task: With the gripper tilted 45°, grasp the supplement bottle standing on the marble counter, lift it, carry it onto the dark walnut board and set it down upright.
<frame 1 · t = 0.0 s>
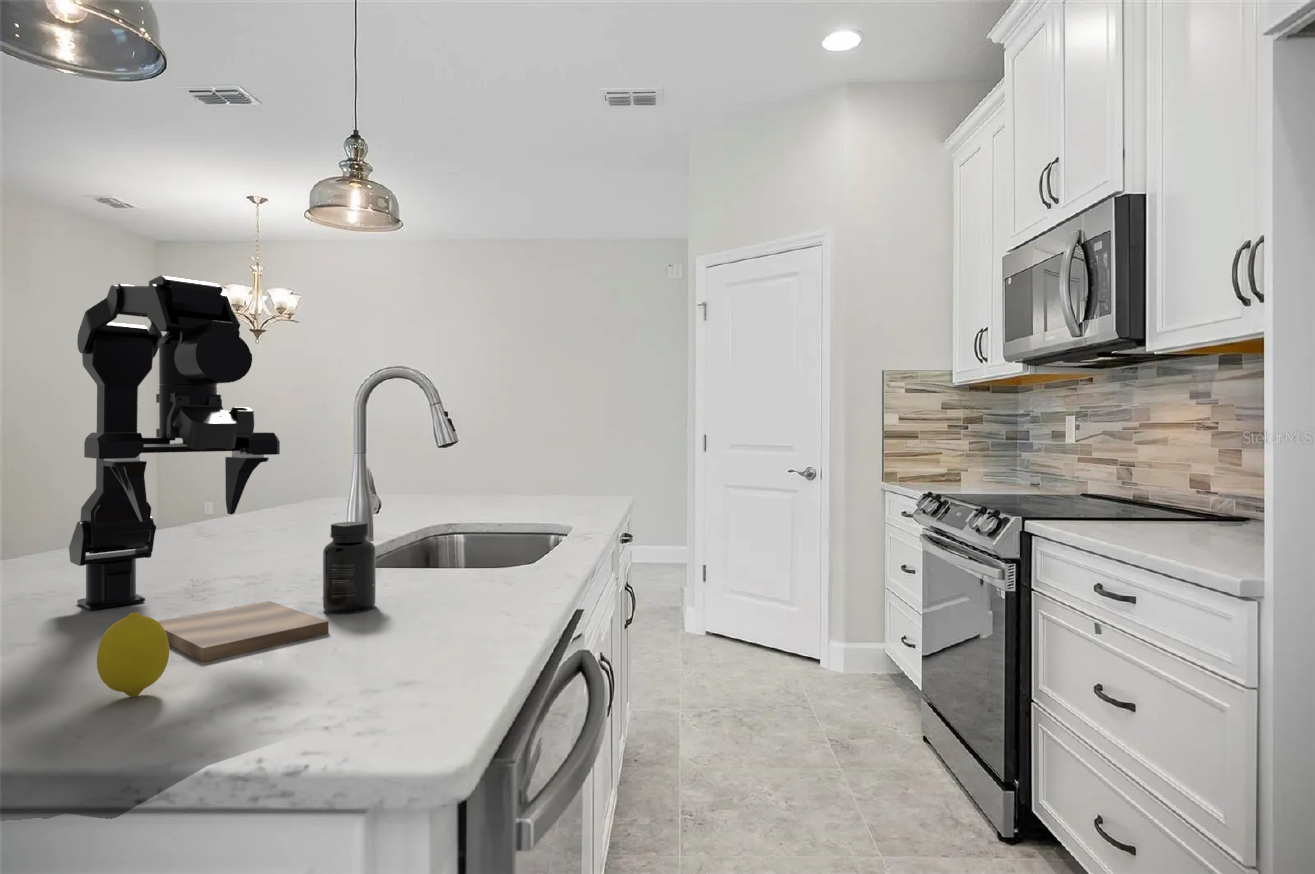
hand: (188, 517, 85), 15 cm above the countertop, tool pointing down, fingers open, 9 cm apart
supplement bottle: (349, 609, 101), on the countertop
lemon: (134, 699, 68), on the countertop
walnut board: (239, 634, 88), on the countertop
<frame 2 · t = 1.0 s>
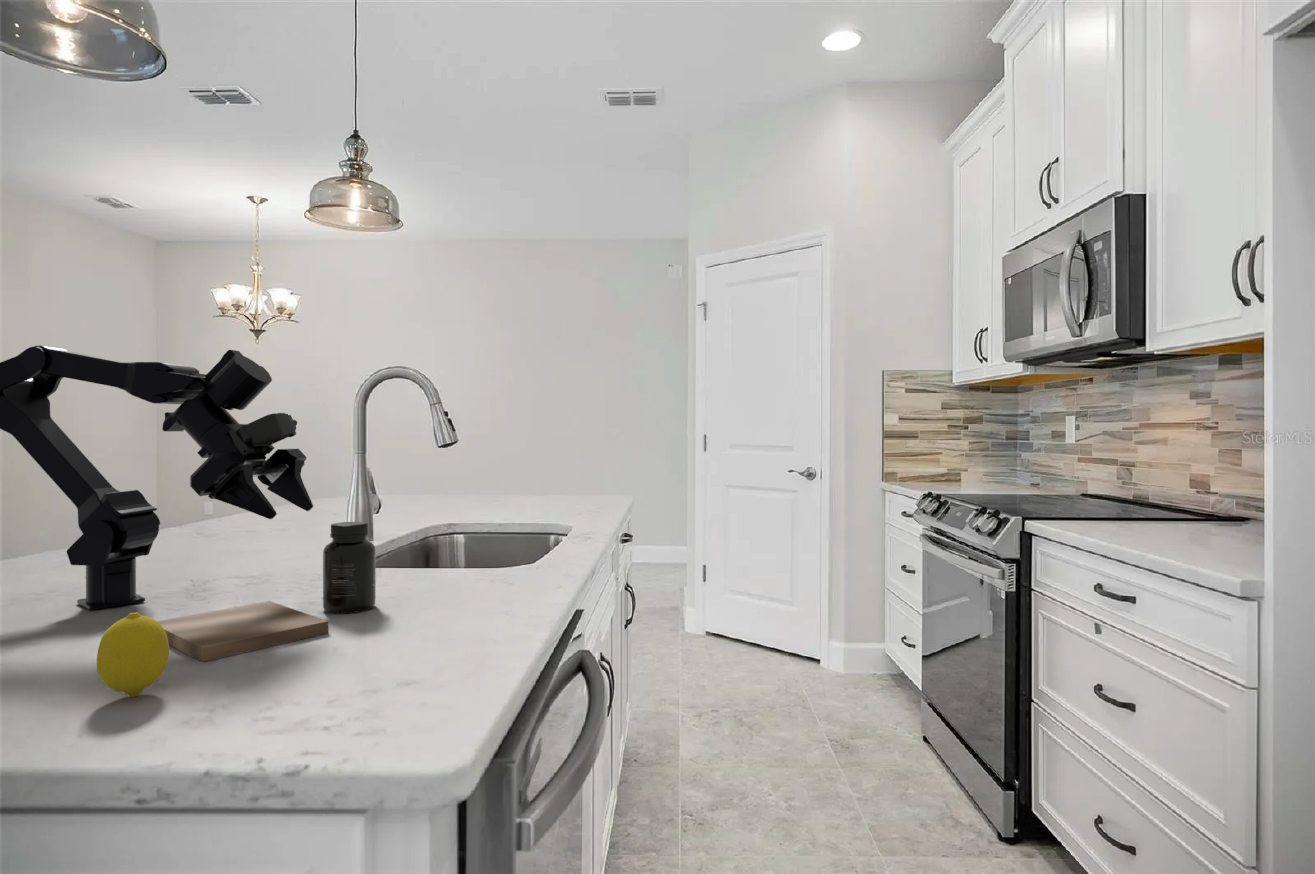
hand: (293, 512, 101), 13 cm above the countertop, tool tilted 45°, fingers open, 9 cm apart
nothing on the countertop moved.
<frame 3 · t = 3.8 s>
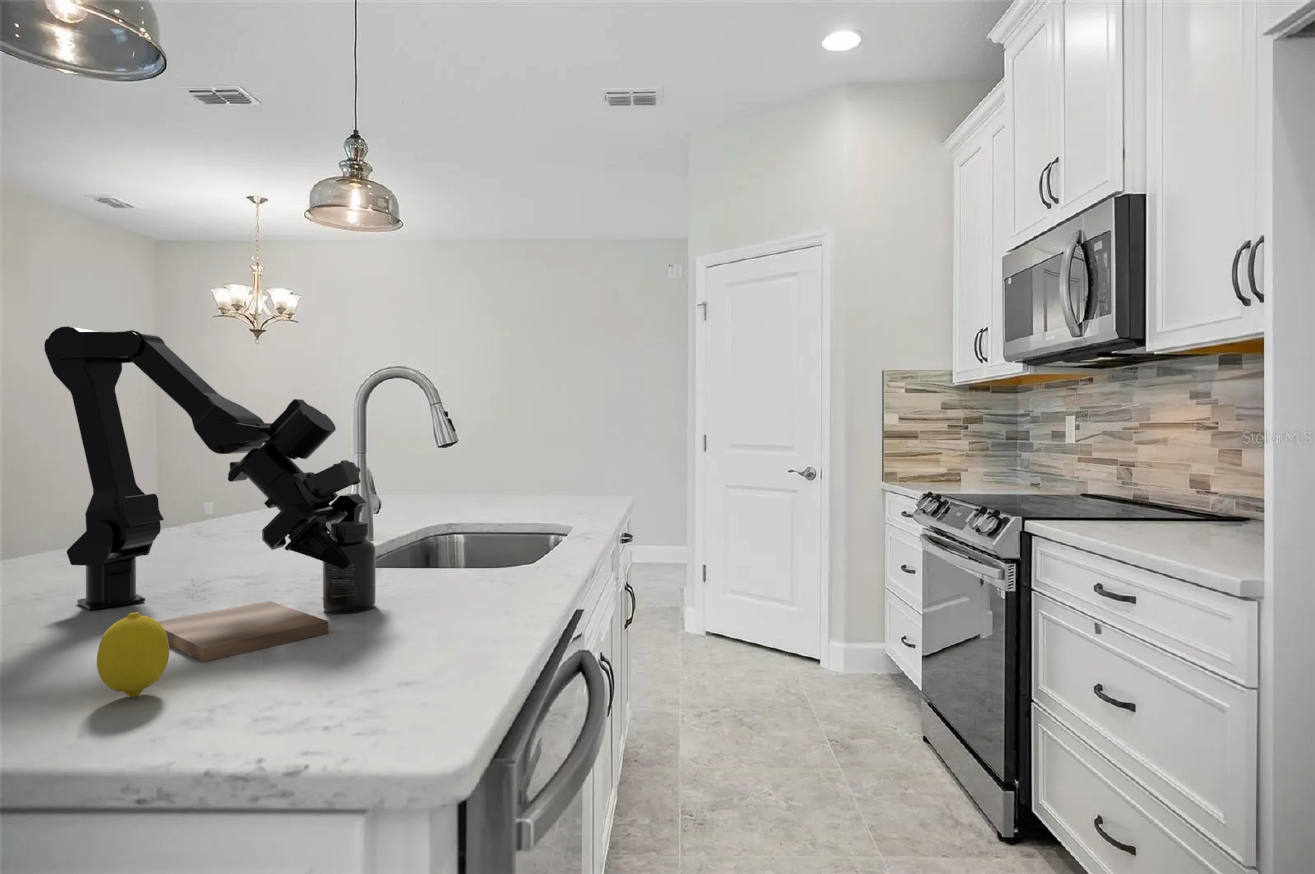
hand: (359, 561, 101), 7 cm above the countertop, tool tilted 45°, fingers closed on supplement bottle, 7 cm apart
supplement bottle: (349, 609, 101), on the countertop, touching gripper
everything else where it was.
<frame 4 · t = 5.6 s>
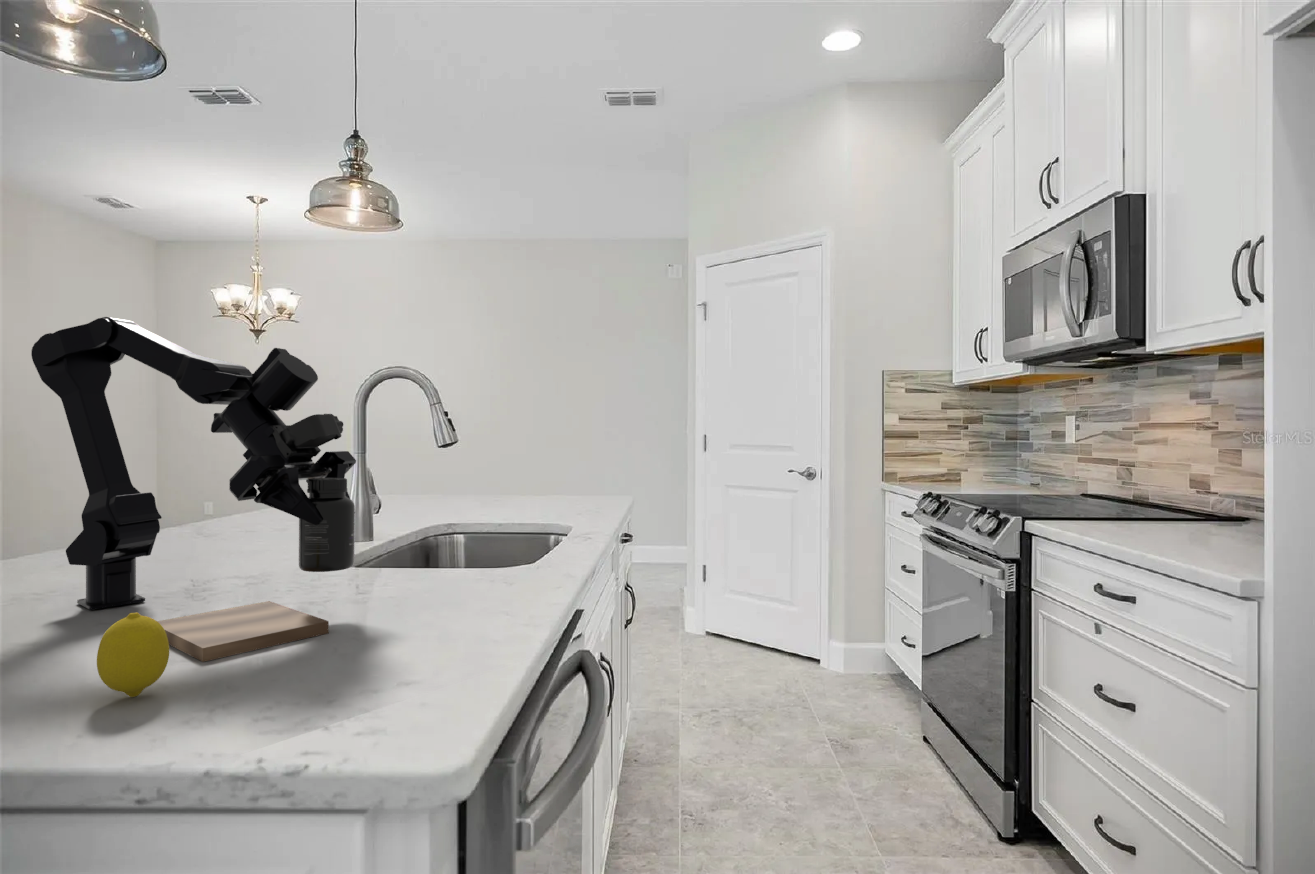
hand: (336, 519, 96), 13 cm above the countertop, tool tilted 45°, fingers closed on supplement bottle, 7 cm apart
supplement bottle: (326, 569, 96), point 6 cm above the countertop, touching gripper
everything else where it was.
when the fingers open (9 cm above the countertop, at t = 7.7 s): supplement bottle drops 1 cm, resting on walnut board.
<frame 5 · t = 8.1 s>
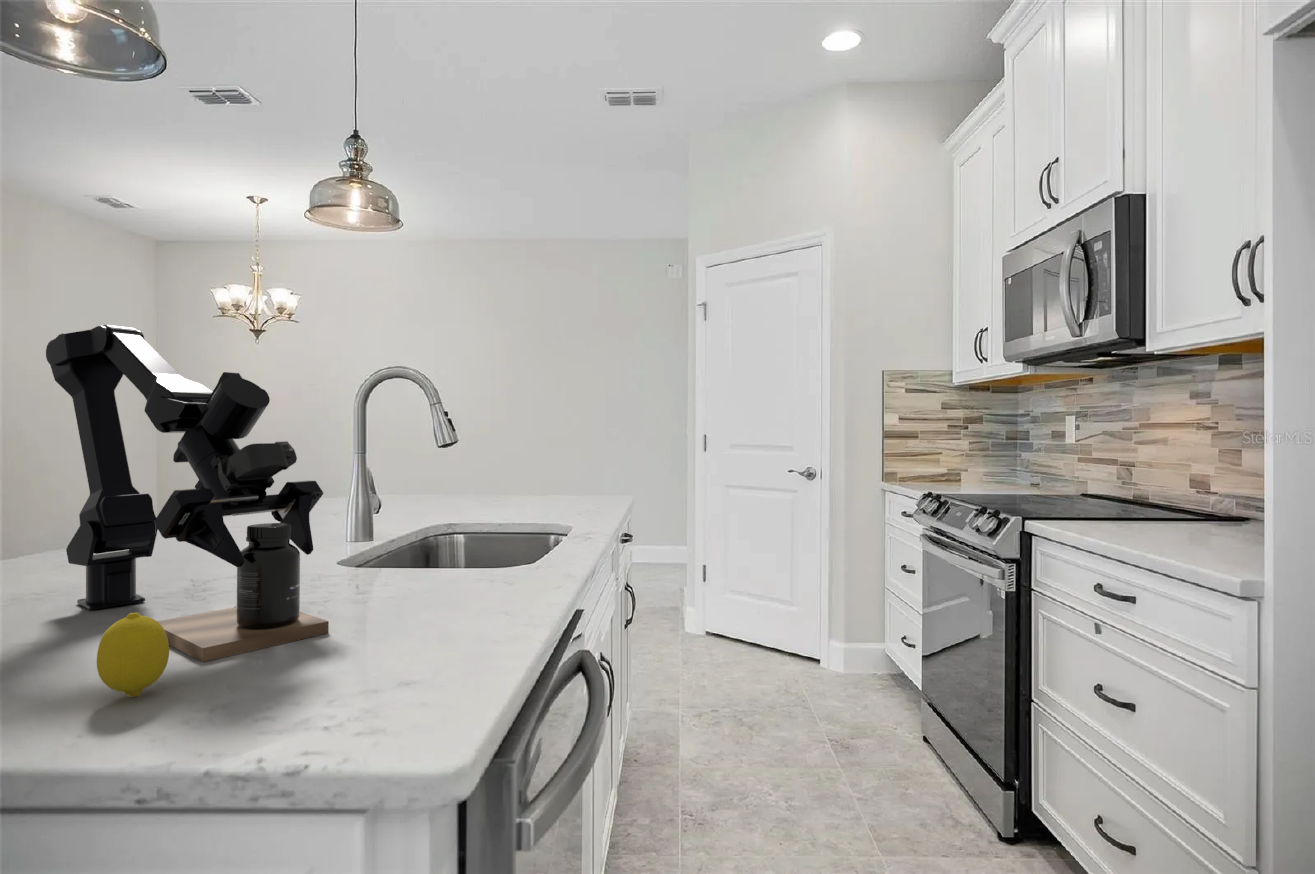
hand: (277, 558, 87), 10 cm above the countertop, tool tilted 45°, fingers open, 9 cm apart
supplement bottle: (268, 624, 88), point 1 cm above the countertop, touching walnut board
everything else where it was.
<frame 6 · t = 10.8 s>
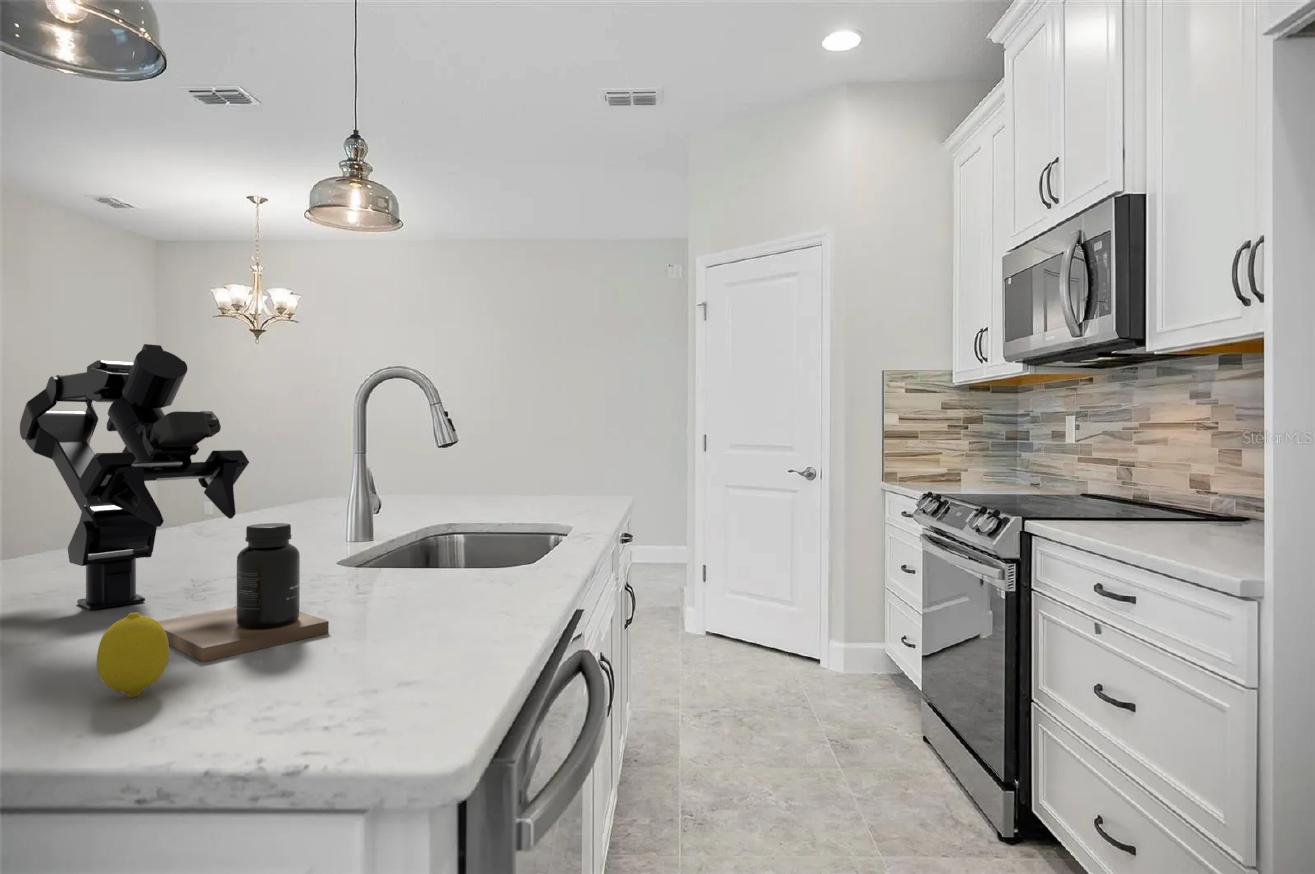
hand: (198, 520, 92), 13 cm above the countertop, tool tilted 45°, fingers open, 9 cm apart
nothing on the countertop moved.
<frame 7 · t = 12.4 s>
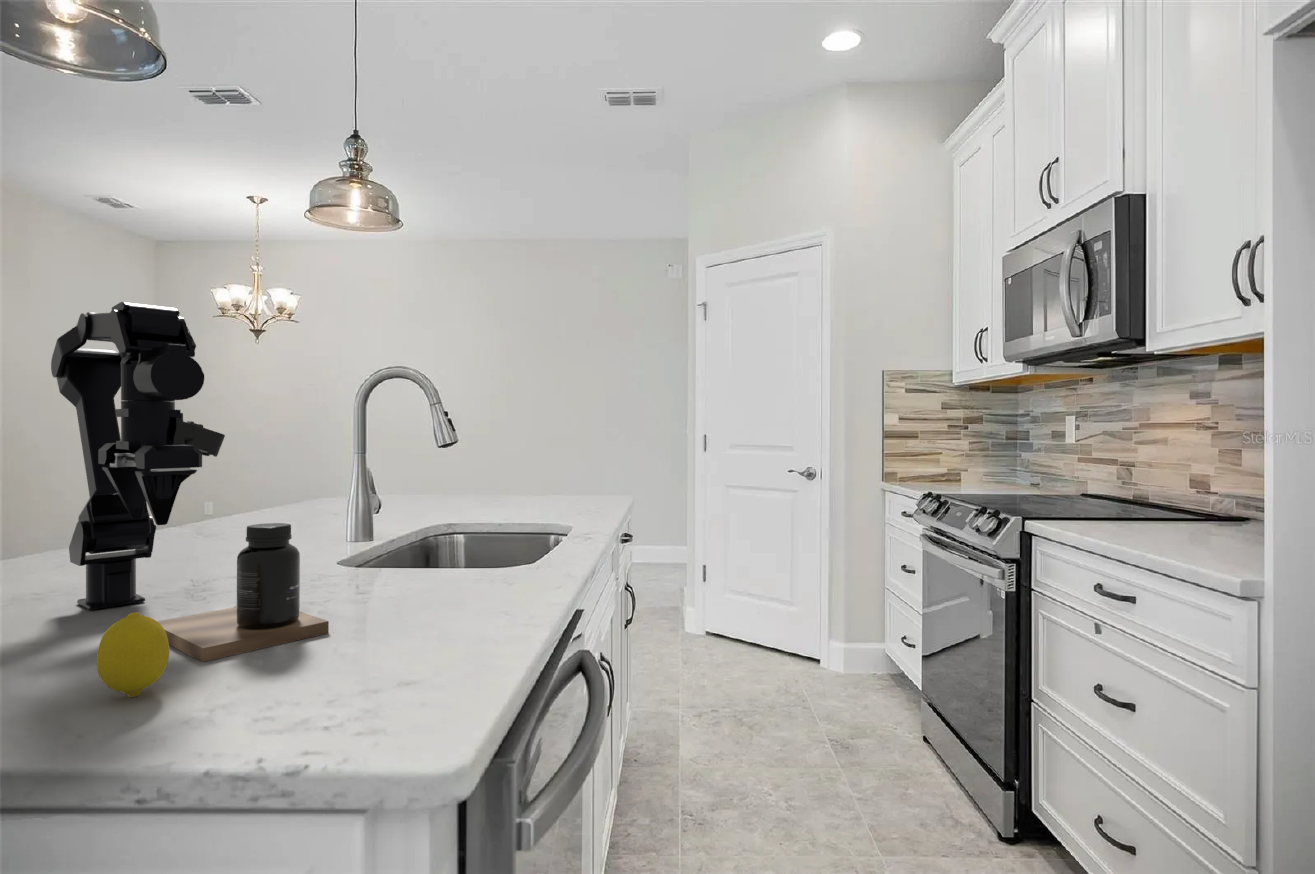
hand: (148, 521, 93), 13 cm above the countertop, tool pointing down, fingers open, 9 cm apart
nothing on the countertop moved.
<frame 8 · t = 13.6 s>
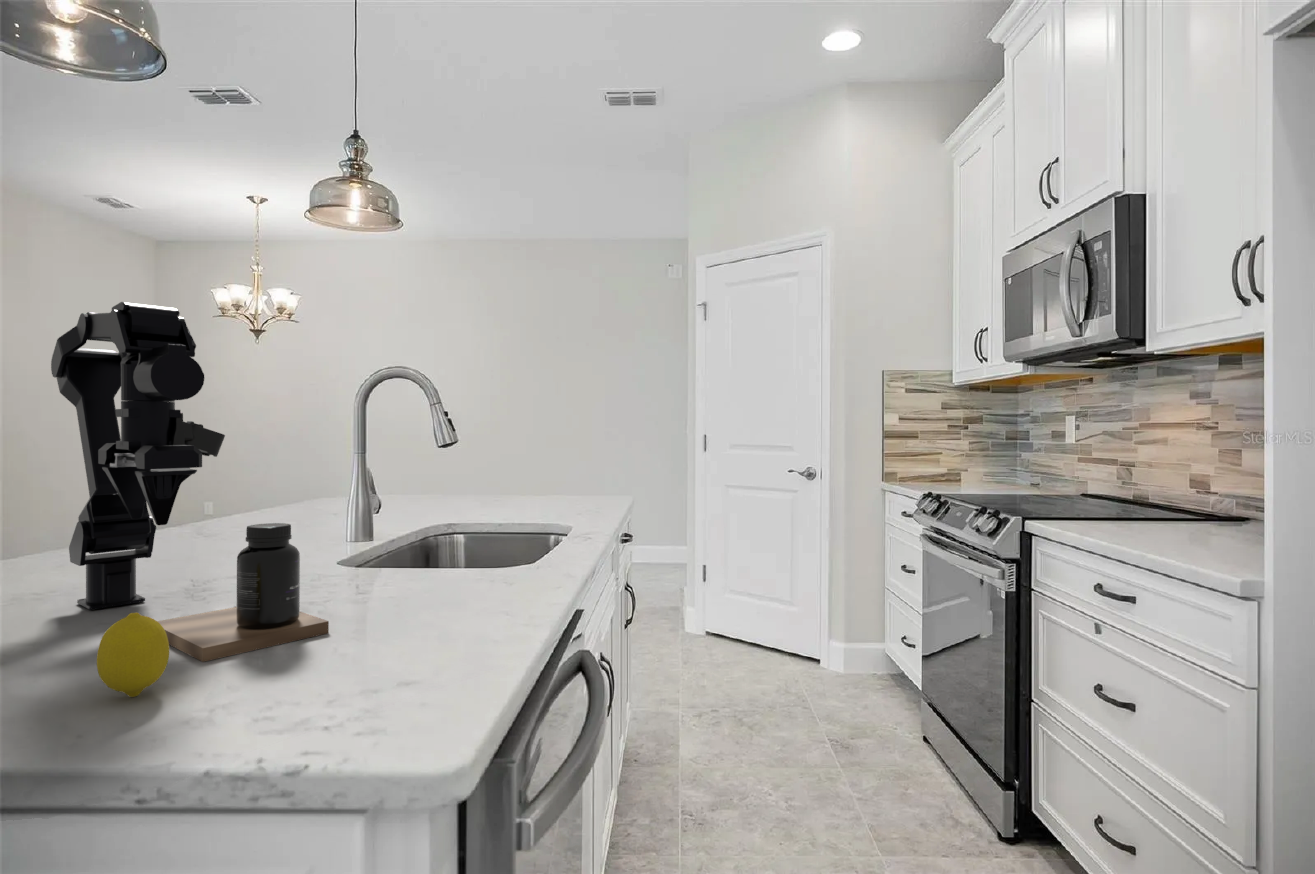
hand: (148, 521, 93), 13 cm above the countertop, tool pointing down, fingers open, 9 cm apart
nothing on the countertop moved.
at the end: supplement bottle inside the target area (0.4 cm from its centre), point 1.3 cm above the countertop; supplement bottle tilted 0°; the gripper is holding nothing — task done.
